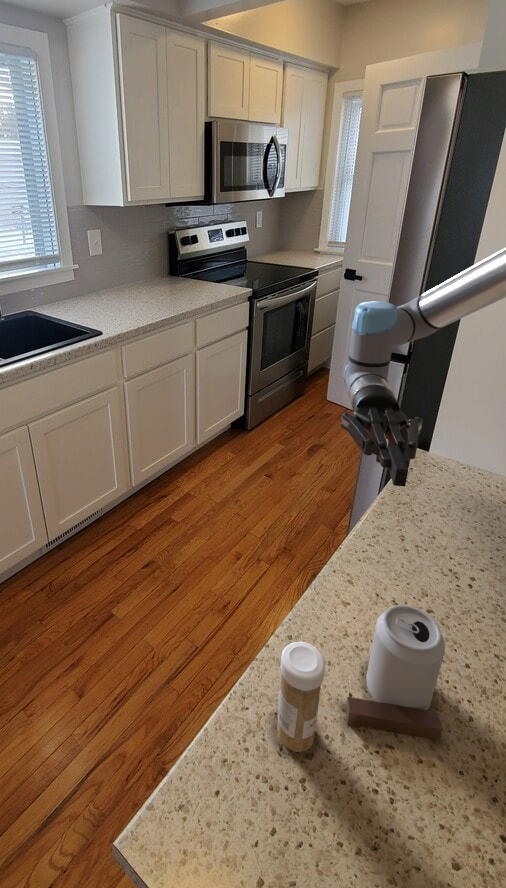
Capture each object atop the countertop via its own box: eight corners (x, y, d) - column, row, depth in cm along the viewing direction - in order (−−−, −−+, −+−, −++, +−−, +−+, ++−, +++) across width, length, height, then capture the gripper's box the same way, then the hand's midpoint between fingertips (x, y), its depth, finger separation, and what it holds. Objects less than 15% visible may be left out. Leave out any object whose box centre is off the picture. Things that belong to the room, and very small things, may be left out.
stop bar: (432, 728, 57) (437, 711, 56) (437, 746, 56) (442, 729, 54) (344, 712, 59) (347, 696, 58) (346, 729, 58) (349, 713, 56)
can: (431, 732, 57) (451, 663, 52) (364, 710, 59) (377, 642, 55) (427, 675, 63) (444, 608, 58) (366, 657, 66) (378, 592, 61)
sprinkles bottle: (319, 757, 55) (331, 677, 49) (279, 759, 55) (287, 680, 49) (308, 715, 59) (318, 638, 54) (271, 718, 59) (277, 640, 53)
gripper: (408, 424, 88) (447, 505, 67) (334, 419, 90) (348, 495, 69) (415, 386, 85) (458, 458, 64) (338, 382, 87) (354, 450, 66)
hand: (400, 477), depth 66 cm, fingers closed
